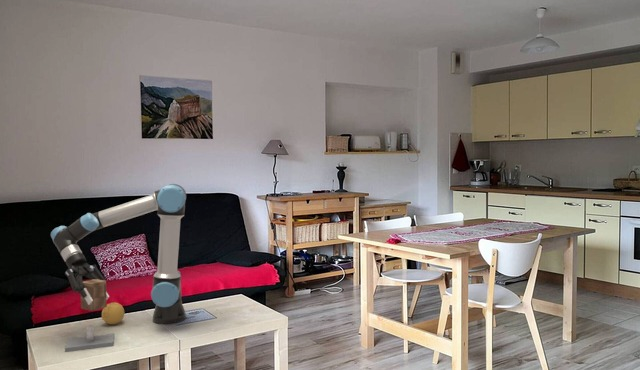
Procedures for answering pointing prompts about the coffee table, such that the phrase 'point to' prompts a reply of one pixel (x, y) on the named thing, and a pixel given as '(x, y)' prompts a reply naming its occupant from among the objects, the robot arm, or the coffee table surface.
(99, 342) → the stub plate
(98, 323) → the coffee table surface
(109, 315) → the stress ball
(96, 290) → the brown wooden block
